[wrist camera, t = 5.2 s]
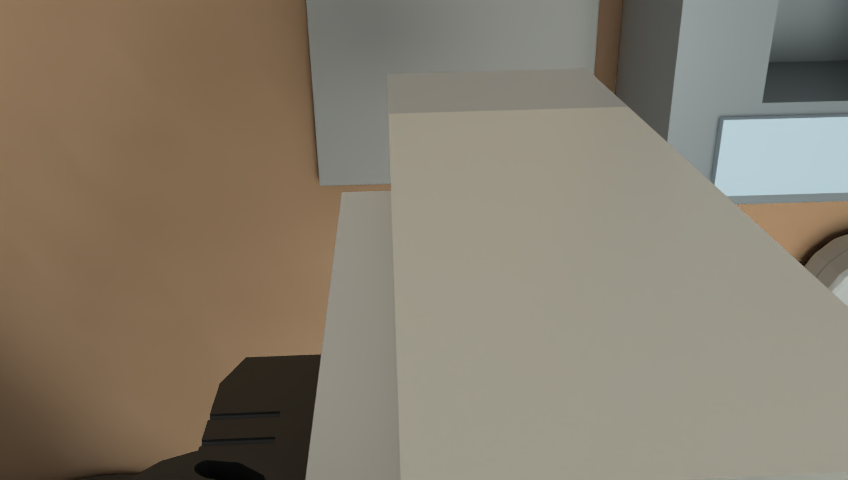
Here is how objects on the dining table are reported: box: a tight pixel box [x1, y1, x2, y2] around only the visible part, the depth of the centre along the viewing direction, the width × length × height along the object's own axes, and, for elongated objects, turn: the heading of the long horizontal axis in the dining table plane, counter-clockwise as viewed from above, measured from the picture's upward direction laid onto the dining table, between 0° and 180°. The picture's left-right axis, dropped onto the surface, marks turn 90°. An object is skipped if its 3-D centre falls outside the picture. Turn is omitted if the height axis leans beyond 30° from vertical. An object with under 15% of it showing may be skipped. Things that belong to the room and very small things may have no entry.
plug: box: [387, 68, 848, 480], centre depth 11 cm, size 4×4×12 cm
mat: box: [306, 0, 599, 186], centre depth 28 cm, size 10×10×1 cm
